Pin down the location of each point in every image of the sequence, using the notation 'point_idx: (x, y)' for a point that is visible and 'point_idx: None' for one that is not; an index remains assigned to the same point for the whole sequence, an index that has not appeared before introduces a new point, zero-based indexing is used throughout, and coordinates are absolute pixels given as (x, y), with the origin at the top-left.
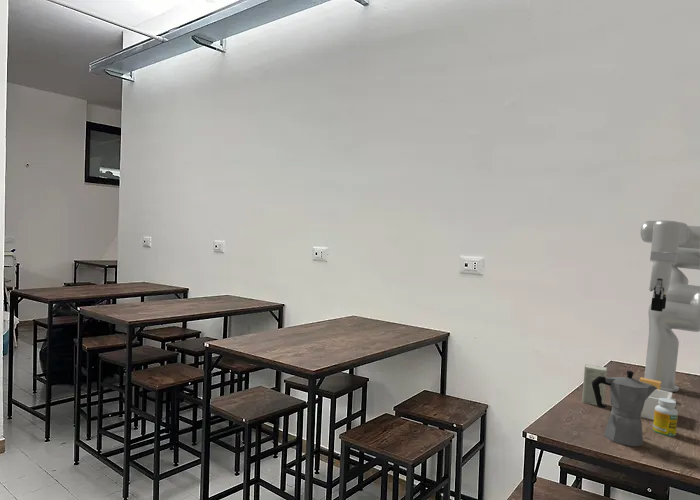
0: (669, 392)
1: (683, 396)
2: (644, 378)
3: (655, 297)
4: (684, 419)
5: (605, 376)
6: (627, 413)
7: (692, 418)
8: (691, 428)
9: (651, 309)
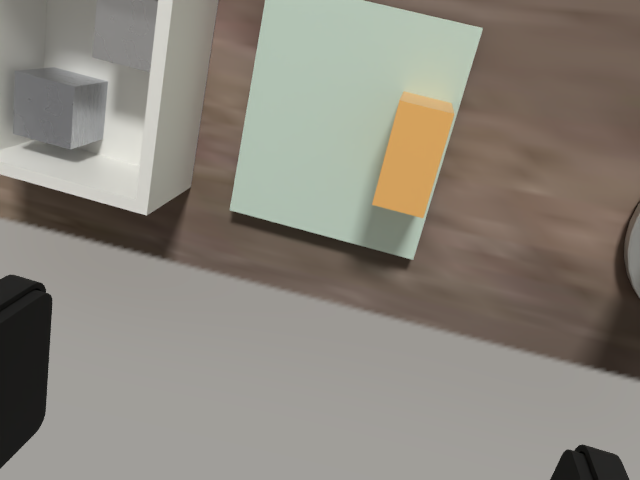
0: (140, 202)
1: (579, 322)
2: (433, 132)
3: None
4: (177, 232)
5: None
6: None
7: (215, 266)
8: (80, 230)
9: (8, 282)
